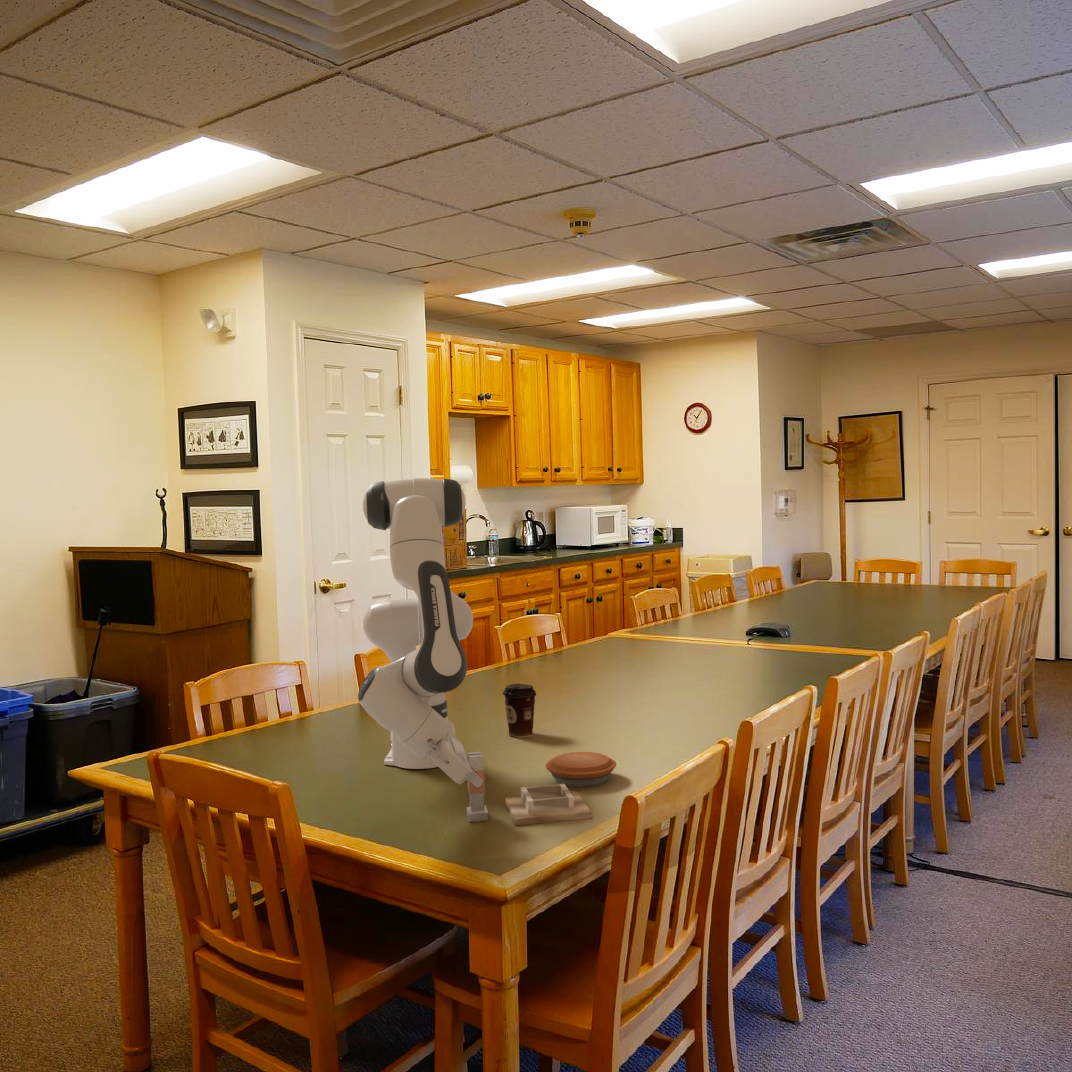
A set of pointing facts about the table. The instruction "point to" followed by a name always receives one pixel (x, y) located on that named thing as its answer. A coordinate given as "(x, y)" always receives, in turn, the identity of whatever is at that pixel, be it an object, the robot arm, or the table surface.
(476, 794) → the grey orange upright bar
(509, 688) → the coffee cup
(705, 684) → the table surface
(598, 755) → the pie
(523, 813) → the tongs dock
